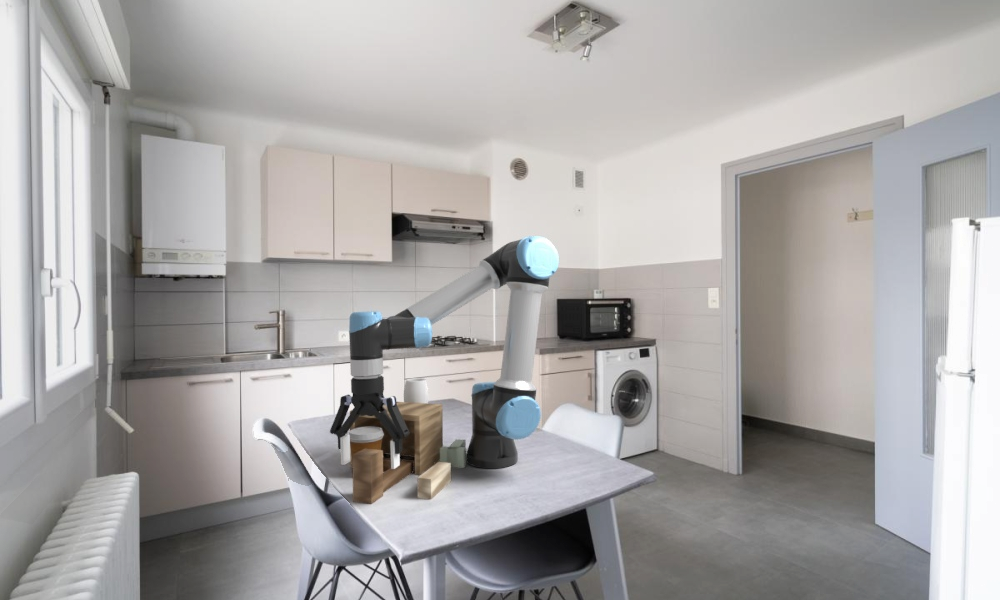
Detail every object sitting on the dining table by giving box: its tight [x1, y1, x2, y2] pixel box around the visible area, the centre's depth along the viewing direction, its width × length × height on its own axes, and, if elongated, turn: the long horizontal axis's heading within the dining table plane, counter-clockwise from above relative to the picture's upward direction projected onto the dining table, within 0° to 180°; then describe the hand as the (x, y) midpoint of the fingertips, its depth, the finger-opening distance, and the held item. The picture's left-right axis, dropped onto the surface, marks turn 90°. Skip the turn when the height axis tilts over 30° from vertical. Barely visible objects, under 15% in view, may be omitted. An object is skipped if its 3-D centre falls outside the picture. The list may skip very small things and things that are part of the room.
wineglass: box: [403, 377, 429, 404], centre depth 161 cm, size 9×9×21 cm
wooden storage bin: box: [349, 401, 444, 476], centre depth 141 cm, size 22×15×16 cm
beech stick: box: [417, 461, 452, 500], centre depth 121 cm, size 4×12×5 cm, turn 163°
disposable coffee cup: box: [348, 426, 384, 462], centre depth 131 cm, size 10×10×12 cm
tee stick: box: [439, 438, 467, 469], centre depth 142 cm, size 7×10×5 cm
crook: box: [352, 449, 415, 505], centre depth 125 cm, size 16×22×11 cm
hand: (370, 465), depth 115 cm, fingers open, 13 cm apart
